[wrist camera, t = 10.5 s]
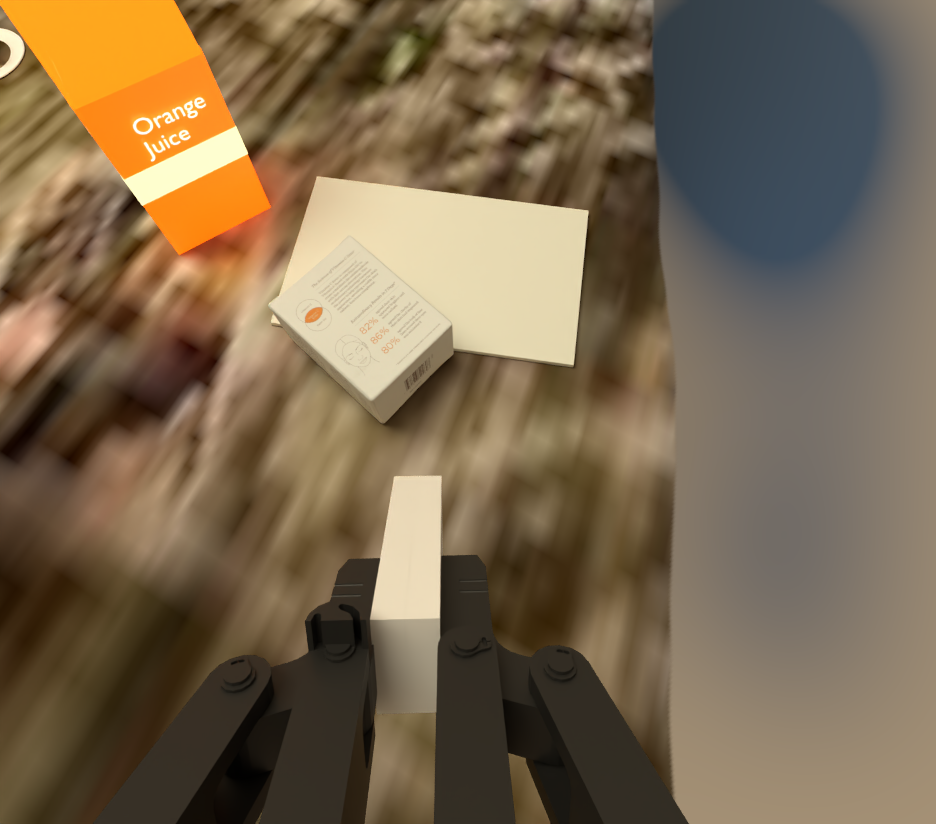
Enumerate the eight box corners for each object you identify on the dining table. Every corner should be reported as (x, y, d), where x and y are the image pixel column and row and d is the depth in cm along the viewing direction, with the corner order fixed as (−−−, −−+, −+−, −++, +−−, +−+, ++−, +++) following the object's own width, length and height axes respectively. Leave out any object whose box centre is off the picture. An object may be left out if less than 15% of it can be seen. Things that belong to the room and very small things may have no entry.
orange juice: (140, 196, 51) (-44, -59, 32) (231, 152, 53) (106, -113, 34) (179, 257, 49) (4, 19, 30) (273, 208, 51) (163, -43, 32)
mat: (272, 325, 46) (270, 322, 46) (318, 179, 52) (317, 176, 52) (572, 367, 45) (573, 365, 45) (587, 213, 51) (588, 210, 50)
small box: (456, 354, 45) (363, 272, 47) (454, 322, 40) (349, 231, 42) (381, 427, 43) (288, 337, 46) (369, 403, 38) (264, 303, 40)
